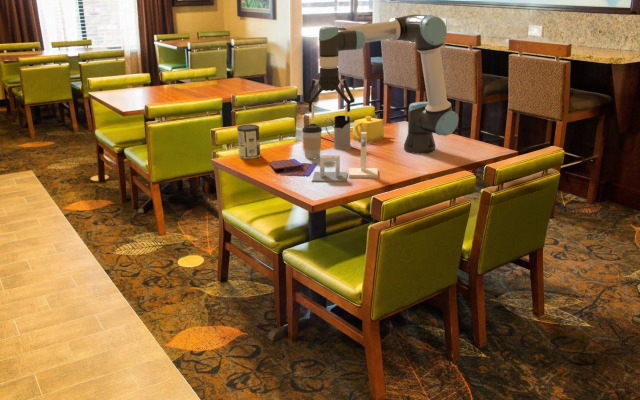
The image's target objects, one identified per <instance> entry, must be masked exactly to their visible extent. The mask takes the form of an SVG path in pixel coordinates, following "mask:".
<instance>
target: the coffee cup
mask: <svg viewBox="0 0 640 400" xmlns="http://www.w3.org/2000/svg"><path fill="white" fill-rule="evenodd" d="M301 129H302V130H301V132H302V140H303V141H302V142H303V149H304V157H305V158H306V159H312V160H313V158H315V159H319V158H320V156H321V148H322V147H321V146H322V131H323V130H322V127H320V125H318V124H316V123H310V124H306V125H304V127H302V128H301ZM318 157H319V158H318Z"/></svg>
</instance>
